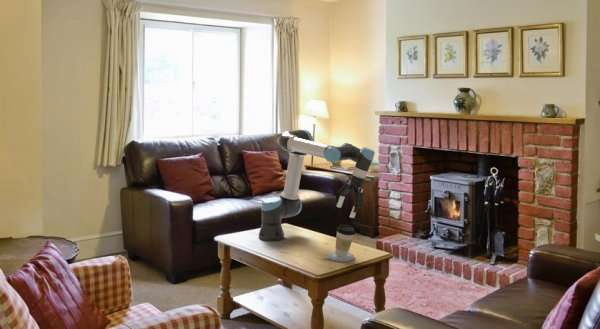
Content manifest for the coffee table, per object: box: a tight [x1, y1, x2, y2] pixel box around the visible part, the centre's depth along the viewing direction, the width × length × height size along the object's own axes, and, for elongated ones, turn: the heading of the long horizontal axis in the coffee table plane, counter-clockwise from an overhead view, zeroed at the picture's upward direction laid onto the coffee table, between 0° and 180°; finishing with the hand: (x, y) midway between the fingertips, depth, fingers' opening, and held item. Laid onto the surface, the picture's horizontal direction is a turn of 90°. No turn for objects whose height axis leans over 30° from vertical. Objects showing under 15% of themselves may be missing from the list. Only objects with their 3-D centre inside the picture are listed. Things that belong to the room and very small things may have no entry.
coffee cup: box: [335, 224, 356, 257], centre depth 302 cm, size 10×10×15 cm
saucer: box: [327, 252, 355, 263], centre depth 304 cm, size 14×14×1 cm
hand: (345, 212), depth 314 cm, fingers open, 13 cm apart
